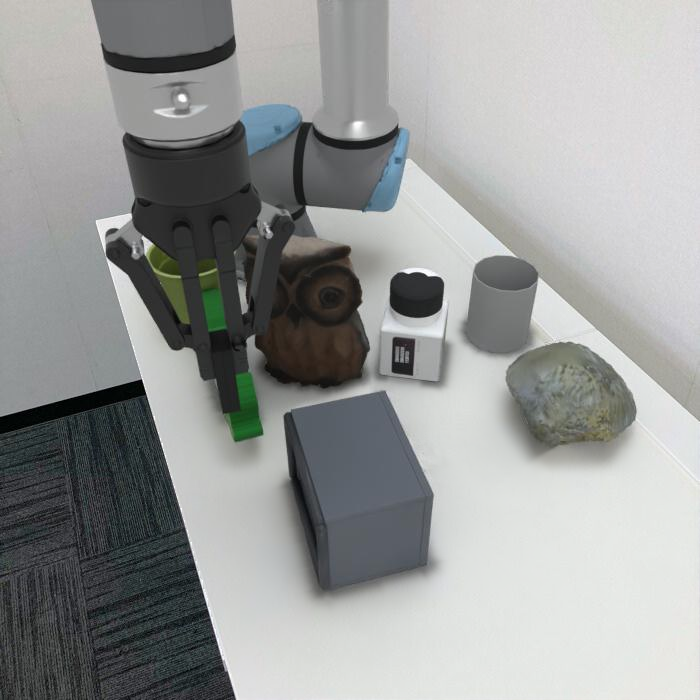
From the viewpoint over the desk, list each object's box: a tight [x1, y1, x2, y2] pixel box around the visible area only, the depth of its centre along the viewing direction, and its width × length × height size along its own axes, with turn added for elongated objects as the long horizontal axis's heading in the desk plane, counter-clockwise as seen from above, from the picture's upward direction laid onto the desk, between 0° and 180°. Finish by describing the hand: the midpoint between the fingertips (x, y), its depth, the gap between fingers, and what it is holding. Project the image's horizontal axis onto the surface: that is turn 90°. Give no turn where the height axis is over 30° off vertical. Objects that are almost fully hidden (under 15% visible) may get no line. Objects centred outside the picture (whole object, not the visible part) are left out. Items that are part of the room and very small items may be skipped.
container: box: [378, 267, 450, 382], centre depth 89 cm, size 8×8×13 cm
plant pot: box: [145, 243, 236, 324], centre depth 97 cm, size 12×12×11 cm
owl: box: [242, 234, 371, 390], centre depth 86 cm, size 13×13×20 cm
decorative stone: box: [505, 340, 638, 447], centre depth 82 cm, size 14×15×10 cm
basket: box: [282, 389, 435, 592], centre depth 70 cm, size 15×11×11 cm
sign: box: [202, 287, 265, 444], centre depth 86 cm, size 26×3×10 cm, turn 19°
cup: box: [465, 254, 540, 354], centre depth 94 cm, size 8×8×10 cm
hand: (229, 401), depth 58 cm, fingers closed
